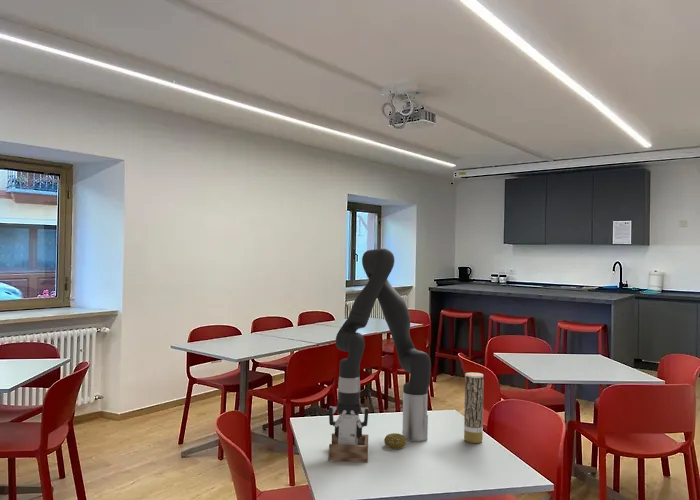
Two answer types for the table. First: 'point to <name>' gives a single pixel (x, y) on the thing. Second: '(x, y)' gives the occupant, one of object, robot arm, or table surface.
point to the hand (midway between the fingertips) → (348, 437)
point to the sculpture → (395, 441)
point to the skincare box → (348, 430)
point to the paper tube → (473, 407)
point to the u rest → (349, 450)
